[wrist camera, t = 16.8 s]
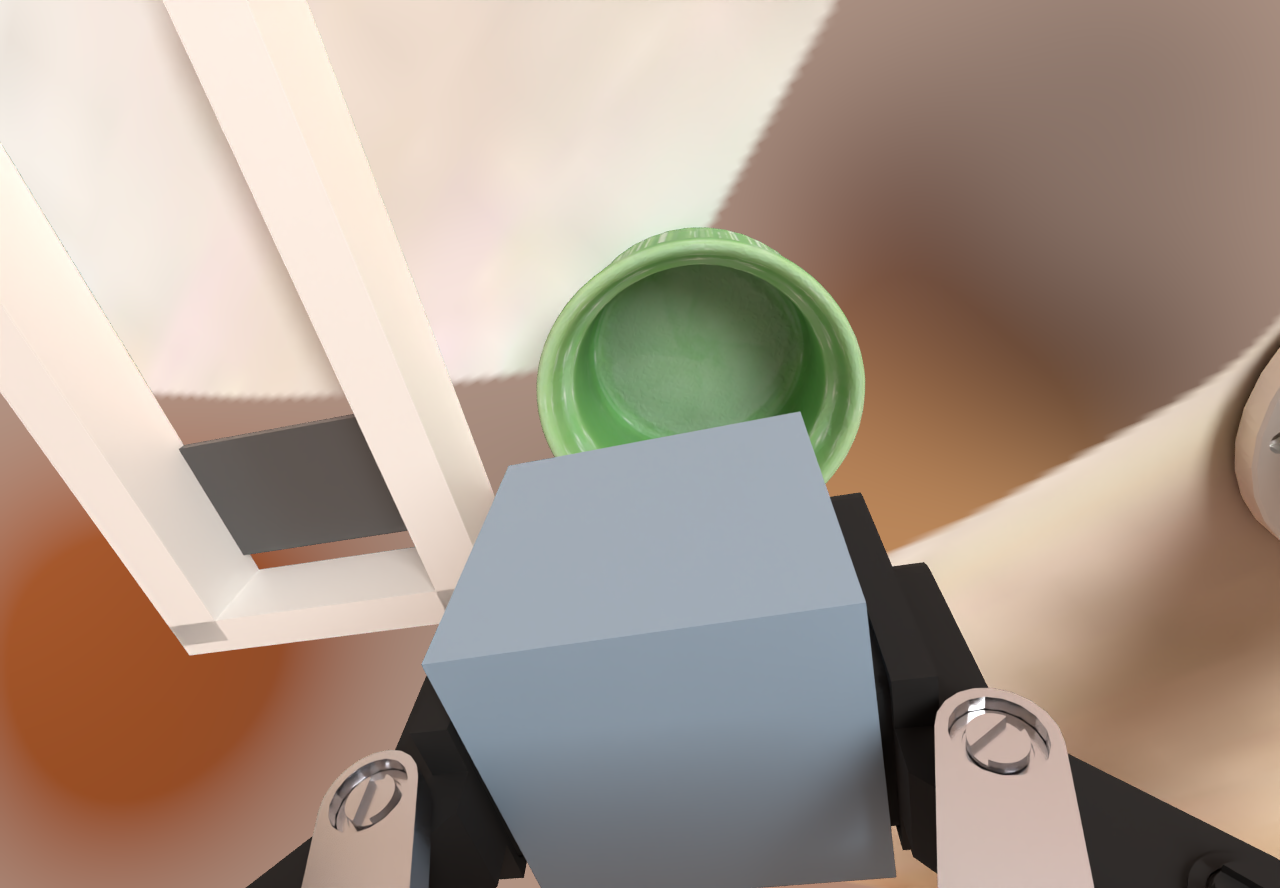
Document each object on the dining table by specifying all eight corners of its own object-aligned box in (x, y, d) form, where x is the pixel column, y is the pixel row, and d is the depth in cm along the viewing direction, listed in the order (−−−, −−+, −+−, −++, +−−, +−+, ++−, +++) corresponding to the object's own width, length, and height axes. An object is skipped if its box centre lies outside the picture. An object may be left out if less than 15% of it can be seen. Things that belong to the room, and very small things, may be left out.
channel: (251, -145, 17) (170, -185, 14) (520, 563, 27) (501, 616, 25) (-159, -7, 19) (-295, -19, 16) (234, 602, 29) (189, 655, 27)
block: (800, 411, 11) (866, 602, 7) (832, 637, 13) (896, 877, 9) (508, 465, 12) (421, 664, 8) (587, 670, 14) (549, 904, 10)
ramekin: (544, 436, 25) (516, 504, 21) (587, 176, 20) (563, 201, 16) (785, 490, 25) (801, 566, 21) (878, 246, 21) (921, 286, 17)
